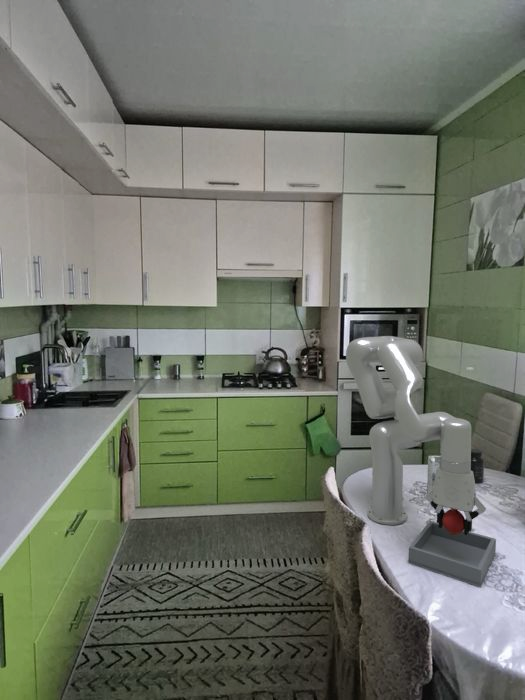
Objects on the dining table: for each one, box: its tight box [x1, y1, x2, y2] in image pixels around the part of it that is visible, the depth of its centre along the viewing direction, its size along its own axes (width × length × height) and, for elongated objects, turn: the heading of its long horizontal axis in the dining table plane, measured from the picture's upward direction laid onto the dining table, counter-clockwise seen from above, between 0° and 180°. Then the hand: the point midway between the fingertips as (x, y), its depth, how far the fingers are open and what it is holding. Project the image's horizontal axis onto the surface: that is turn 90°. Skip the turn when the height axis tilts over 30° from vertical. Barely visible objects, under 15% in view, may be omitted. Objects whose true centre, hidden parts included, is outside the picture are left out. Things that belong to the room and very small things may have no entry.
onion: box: [442, 508, 466, 535], centre depth 123 cm, size 6×6×8 cm
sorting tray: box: [407, 520, 497, 588], centre depth 125 cm, size 18×18×4 cm
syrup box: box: [426, 455, 440, 494], centre depth 162 cm, size 6×6×14 cm
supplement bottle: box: [471, 448, 485, 484], centre depth 177 cm, size 7×7×12 cm
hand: (454, 528), depth 124 cm, fingers closed on onion, 5 cm apart
